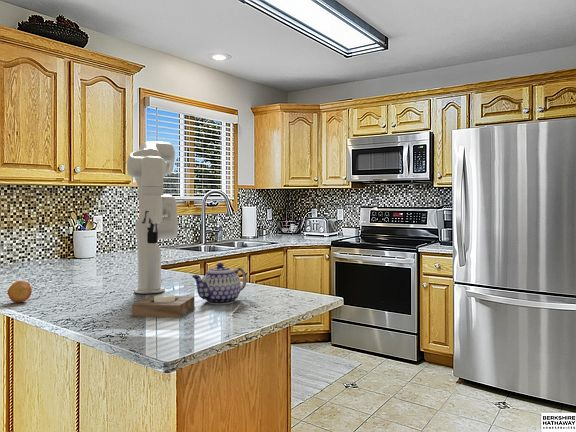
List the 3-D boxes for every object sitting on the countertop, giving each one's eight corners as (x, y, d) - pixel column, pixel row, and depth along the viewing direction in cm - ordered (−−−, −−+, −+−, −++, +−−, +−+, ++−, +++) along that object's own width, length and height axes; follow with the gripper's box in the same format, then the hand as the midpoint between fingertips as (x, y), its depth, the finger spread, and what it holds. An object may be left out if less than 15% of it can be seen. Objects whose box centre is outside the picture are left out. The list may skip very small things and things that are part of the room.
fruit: (5, 286, 178) (5, 283, 171) (28, 280, 182) (28, 277, 176) (10, 306, 177) (10, 304, 170) (33, 300, 181) (34, 297, 175)
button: (158, 304, 162) (158, 294, 162) (177, 304, 161) (177, 294, 161) (150, 308, 155) (150, 298, 155) (171, 308, 154) (171, 298, 154)
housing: (151, 306, 167) (151, 295, 167) (194, 307, 165) (194, 296, 165) (132, 316, 151) (132, 304, 151) (179, 317, 149) (179, 305, 149)
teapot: (235, 295, 190) (235, 258, 190) (258, 300, 178) (258, 261, 178) (181, 303, 173) (181, 263, 173) (203, 309, 161) (202, 267, 161)
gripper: (150, 191, 171) (150, 240, 172) (133, 191, 156) (133, 245, 157) (169, 191, 170) (169, 241, 171) (155, 191, 155) (155, 245, 156)
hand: (152, 243), depth 164 cm, fingers closed
